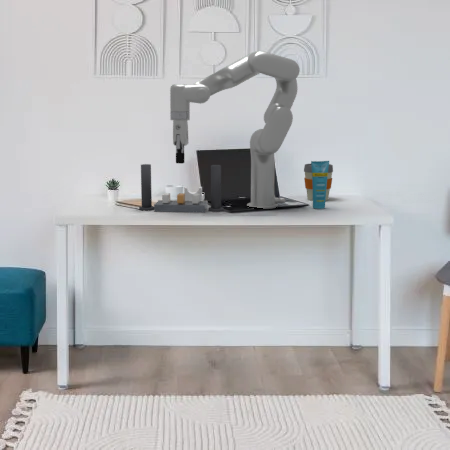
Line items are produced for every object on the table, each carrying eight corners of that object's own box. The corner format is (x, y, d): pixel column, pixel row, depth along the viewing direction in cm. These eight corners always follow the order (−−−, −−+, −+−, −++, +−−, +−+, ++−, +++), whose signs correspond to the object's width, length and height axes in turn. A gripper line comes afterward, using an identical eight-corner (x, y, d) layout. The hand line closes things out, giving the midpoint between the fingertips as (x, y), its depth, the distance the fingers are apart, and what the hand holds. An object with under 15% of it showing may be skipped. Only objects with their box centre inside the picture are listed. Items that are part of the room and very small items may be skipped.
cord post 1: (155, 208, 312) (154, 164, 309) (152, 210, 306) (151, 165, 303) (140, 208, 313) (139, 163, 309) (137, 210, 307) (136, 165, 304)
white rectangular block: (170, 201, 311) (170, 193, 310) (168, 203, 306) (168, 195, 305) (164, 201, 311) (164, 193, 310) (162, 203, 306) (162, 195, 305)
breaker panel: (207, 208, 312) (207, 200, 312) (204, 212, 302) (204, 204, 302) (158, 207, 314) (158, 199, 314) (154, 211, 304) (154, 203, 304)
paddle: (199, 201, 309) (199, 193, 309) (198, 203, 305) (198, 195, 304) (193, 201, 310) (193, 193, 309) (192, 203, 305) (192, 195, 304)
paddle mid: (185, 201, 310) (184, 193, 309) (183, 203, 305) (183, 195, 305) (179, 201, 310) (179, 193, 310) (177, 203, 305) (177, 195, 305)
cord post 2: (224, 209, 310) (224, 164, 306) (222, 211, 304) (222, 166, 300) (209, 209, 310) (209, 164, 307) (207, 211, 304) (207, 166, 301)
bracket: (201, 205, 320) (201, 187, 319) (184, 205, 321) (184, 187, 319) (204, 200, 333) (204, 183, 332) (188, 200, 334) (188, 183, 332)
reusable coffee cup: (299, 200, 331) (300, 165, 328) (308, 196, 343) (308, 162, 340) (328, 202, 326) (328, 167, 324) (335, 198, 338) (336, 164, 335)
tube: (312, 209, 309) (313, 161, 305) (308, 207, 314) (309, 160, 310) (329, 208, 311) (331, 161, 307) (325, 206, 315) (326, 159, 312)
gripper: (186, 117, 294) (186, 165, 297) (192, 115, 308) (192, 161, 312) (167, 117, 294) (167, 165, 298) (173, 115, 309) (173, 161, 312)
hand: (180, 163), depth 305 cm, fingers closed
